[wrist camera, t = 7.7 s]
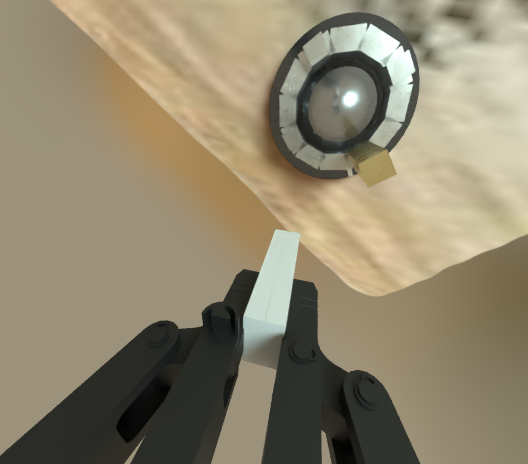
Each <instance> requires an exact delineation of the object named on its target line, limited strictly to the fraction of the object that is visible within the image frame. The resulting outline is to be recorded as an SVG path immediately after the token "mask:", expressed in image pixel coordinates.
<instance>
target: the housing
mask: <svg viewBox="0 0 528 464" xmlns="http://www.w3.org/2000/svg"><path fill="white" fill-rule="evenodd" d="M365 23H367V29H366V31H367V30H368V28H369V26H370V24H372V25H373V26H375V27H376V28H378V29H380V30H381V31H383V32H384V33H386V34H387V35H389V36H390V37H392V38H394V39H395V40H397V41H398V42H400V43H399V45H398V46H397V48H396V49H398V48H399V47H401V46H402V47H403V50H404V53H405V52H406V51H407V50H409V51H410V55H411V58H412V61H413V65H414V68H415V72H414V73H412V74H411V76H412V79H413V81H411V82H410V83H408V84H407V85H411V84H413V86H412V91H411V95H410V99H409V103H408V107H407V112H406V116H405V120H404V121H402V122H399V123H400V124H402V126H401V127H400V129H399V130H398V131H397V132H396V134H395V135H394V136H393V137H392V139H391V140H390V141H389V142H388V144H387V145H386V146H385V147H384V148H385V149H387V150H388V153H389V152H390V151H391V150H392V149H393V148H394V147H395V146H396V144H397V143H398V142H399V140H400V139H401V137H402V136H403V134H404V133H405V131H406V129H407V127H408V126H409V124H410V121H411V119H412V117H413V114H414V111H415V108H416V104H417V99H418V94H419V81H420V79H419V67H418V63H417V59H416V55H415V53H414V50H413V48H412V46H411V44H410V42H409V41H408V39H407V37H406V36H405V35H404V34H403V33H402V31H401V30H400V29H399V28H398V27H396V26H395V25H394V24H393V23H391V22H390V21H388V20H386V19H384V18H382V17H380V16H377V15H373V14H369V13H359V12H357V13H346V14H342V15H338V16H334V17H332V18H330V19H327V20H325V21H323V22H321V23H320V24H318V25H316V26H315V27H313V28H312V29H310V30H309V31H308V32H307V33H305V34H304V35H303V36H302V37H301V38H300V39H299V40H298V41H297V42H296V43H295V44H294V46H293V47H292V48H291V49H290V51H289V52H288V53H287V55H286V57H285V58H284V60H283V62H282V63H281V65H280V67H279V70H278V72H277V74H276V77H275V80H274V83H273V86H272V90H271V95H270V103H269V117H270V125H271V130H272V134H273V137H274V140H275V142H276V144H277V146H278V148H279V150H280V151H281V153H282V155H283V156H284V157H285V158H286V159H287V161H288V162H289V163H291V164H292V165H293V166H294V167H295V168H297V169H298V170H300V171H301V172H303V173H306V174H308V175H310V176H313V177H318V178H323V179H339V178H345V177H351V176H353V175H356V174H358V173H357V172H356V170H355V169H354V167H353V168H351V169H349V167H348V166H347V170H320V166H319V167H318V169H316V168H314V167H312V166H311V165H309V164H307V163H306V162H304V161H302V160H301V159H299V158H297V157H296V154H297V152H296V153H295V154H293V153H292V151H291V150H289V148H288V146H287V144H286V143H285V141H284V139H283V137H282V135H283V134H282V132H281V129H282V128H284V127H280V103H279V95H284V94H283V93H282V92H280V91H281V88H282V86H283V84H284V82H285V80H286V77H287V75H288V73H289V71H290V69H291V66H292V64H293V62H294V60H295V58H296V59H298V60H299V58H298V54H299V53H300V52H302V51H303V46H304V45H305V44H306V43H308V42H309V41H310V40H311V39H312V38H313V37H315V36H316V35H317V34H318V33H319V32H322V34H323V33H324V32H326V31H327V30H328V33H329V35H330V31H331V28H336V27H343V26H350V25H357V24H365ZM382 97H383V91H382V88H381V86H380V83H379V80H378V77H377V75H376V72H375V70H374V69H372V68H371V67H369V66H368V65H366V64H365V63H363V62H361V61H360V60H358V59H357V58H347V59H338V60H331V61H329V62H328V63H327V64H325V65H324V66H323V67H322V68H320V69H319V70H318V71H316V72H315V73H314V74H312V75H311V76H310V77H309V79H308V81H307V83H306V85H305V87H304V89H303V91H302V93H301V95H300V97H299V99H298V124H299V126H300V128H301V130H302V132H303V134H304V136H305V138H306V140H307V141H308V142H309V143H311V144H313V145H314V146H316V147H318V148H319V149H321V150H323V151H344V150H346V149H347V148H349V147H351V146H353V145H354V144H356V143H358V142H360V141H362V140H363V139H364V138H365V137H366V135H367V134H368V133H369V131H370V130H371V128H372V127H373V126H374V124H375V123H376V122H377V120H378V119H379V113H380V108H381V103H382Z"/></svg>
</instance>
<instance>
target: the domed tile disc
mask: <svg viewBox="0 0 528 464" xmlns="http://www.w3.org/2000/svg"><path fill="white" fill-rule="evenodd" d="M366 29H367V23H365V24H357V25H350V26H343V27H336V28H331V31H330V35H329V33H328V30H327V31H326V32H324V33H323V34H322V32H319V33H318V34H317V35H316V36H315V37H313V38H312V39H311V40H310V41H309V42H308V43H306V44H305V45H304V46H303V51H302V52H300V53H299V54H298V58H299V60H298V59H296V58H295V60H294V62H293V64H292V66H291V69H290V71H289V73H288V75H287V77H286V80H285V82H284V84H283V86H282V88H281V91H280V92H282V93H283V94H284V95H279V103H280V127H284V128H282V129H281V132H282V134H283V135H282V137H283V139H284V141H285V143H286V144H287V146H288V148H289V150H291V151H292V153H293V154H295V153H296V152H297V154H296V157H297V158H299V159H301V160H302V161H304V162H306V163H307V164H309V165H311V166H312V167H314V168H316V169H318V167H319V166H320V170H347V166H348V167H349V169H351V168H353V167H354V169H355V170H356V172H357V173H358V174H359V176H360V177H361V178H362V180H363V181H364V182H365V184H366V185H367V186H368V187H370V186H373V185H375V184H377V183H379V182H381V181H384V180H386V179H388V178H390V177H392V176H394V175H397V174H396V171H395V169H394V166H393V163H392V161H391V158H390V156H389V153H388V150H387V149H385V148H384V147H385V146H386V145H387V144H388V142H389V141H390V140H391V139H392V137H393V136H394V135H395V134H396V132H397V131H398V130H399V129H400V127H401V126H402V124H400V123H399V122H402V121H404V120H405V116H406V112H407V107H408V103H409V99H410V95H411V91H412V86H413V84H411V85H407V84H408V83H410V82H411V81H413V79H412V76H411V74H412V73H414V72H415V68H414V65H413V61H412V58H411V55H410V51H409V50H407V51H406V52H405V53H404V50H403V47H402V46H401V47H399V48H398V49H396V48H397V46H398V45H399V43H400V42H398V41H397V40H395V39H394V38H392V37H390V36H389V35H387V34H386V33H384V32H383V31H381V30H380V29H378V28H376V27H375V26H373V25H372V24H370V26H369V28H368V30H367V31H366ZM347 58H357V59H358V60H360V61H361V62H363V63H365V64H366V65H368V66H369V67H371V68H372V69H374V70H375V72H376V75H377V77H378V80H379V83H380V86H381V88H382V91H383V97H382V103H381V108H380V113H379V119H378V120H377V122H376V123H375V124H374V126H373V127H372V128H371V130H370V131H369V133H368V134H367V135H366V137H365V138H364V139H363V140H362V141H360V142H358V143H356V144H354V145H353V146H351V147H349V148H347V149H346V150H344V151H323V150H321V149H319V148H318V147H316V146H314V145H313V144H311V143H309V142H308V141H307V140H306V138H305V136H304V134H303V132H302V130H301V128H300V126H299V124H298V99H299V97H300V95H301V93H302V91H303V89H304V87H305V85H306V83H307V81H308V79H309V77H310V76H311V75H312V74H314V73H315V72H316V71H318V70H319V69H320V68H322V67H323V66H324V65H325V64H327V63H328V62H329V61H331V60H338V59H347Z"/></svg>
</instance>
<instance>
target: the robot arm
mask: <svg viewBox="0 0 528 464" xmlns="http://www.w3.org/2000/svg"><path fill="white" fill-rule="evenodd" d="M299 238H300V233H295V232H289V231H283V230H277V229H276V230H275V233H274V236H273V238H272V241H271V244H270V246H269V249H268V252H267V255H266V257H265V260H264V263H263V265H262V268H261V271H260V272H255V271H250V270H246V269H244V270H242V271H241V272H240V273H238V274H237V275H236V277H235V279H234V281H233V284H232V285H231V287H230V290H229V291H228V293H227V295H226V297H225V299H224V301H223V302H217V303H213V304H211V305H209V306H208V307H206V308H205V309H204V311H203V312H202V320H203V326H201V327H196V328H186V329H178V326H177V325H176V324H175V323H174V322H171V321H167V320H166V321H158V322H156V323H153V324H152V325H150V326H148V327H147V328H145V329H144V330H143V331H142V332H141V333H139V334H138V335H137V336H136V337H135V338H134V339H133V340H131V341H130V342H129V343H128V344H127V345H126V346H125V347H124V348H122V349H121V350H120V351H119V352H118V353H117V354H116V355H115V356H113V357H112V358H111V359H110V360H109V361H108V362H107V363H105V364H104V365H103V366H102V367H101V368H100V369H98V371H96V372H95V373H94V374H93V375H92V376H91V377H90V378H88V379H87V380H86V381H85V382H84V383H83V384H81V386H79V387H78V388H77V389H76V390H75V391H73V392H72V393H71V394H70V395H69V396H68V397H67V398H65V399H64V400H63V401H62V402H61V403H60V404H59V405H57V406H56V407H55V408H54V409H53V410H52V411H51V412H49V413H48V414H47V415H46V416H45V417H44V418H43V419H42V420H40V421H39V422H38V423H37V424H36V425H35V426H34V427H32V428H31V429H30V430H29V431H28V432H27V433H26V434H24V435H23V436H22V437H21V438H20V439H19V440H18V441H16V442H15V443H14V444H13V445H12V446H11V447H10V448H8V449H7V450H6V451H5V452H4V453H3V454H2V455H1V456H0V464H124V463H125V462H126V460H127V459H128V458H129V456H130V455H131V454H132V452H133V451H134V450H135V448H136V447H137V446H138V444H139V443H140V442H141V440H142V439H143V438H144V439H143V441H142V443H141V445H140V447H139V449H138V451H137V452H136V454H135V456H134V458H133V460H132V462H131V463H130V464H211V461H212V458H213V455H214V452H215V448H216V445H217V441H218V438H219V435H220V432H221V429H222V425H223V422H224V419H225V416H226V412H227V409H228V406H229V403H230V399H231V396H232V393H233V389H234V386H235V383H236V380H237V377H238V369H239V364H240V360H241V357H242V360H244V361H248V362H251V363H255V364H258V365H262V366H266V367H269V368H273V369H276V370H277V372H276V379H275V384H274V390H273V394H272V402H271V408H270V414H269V420H268V426H267V432H266V438H265V444H264V450H263V456H262V462H261V464H322V462H321V461H322V455H321V454H322V452H321V430H322V431H324V432H325V433H326V437H327V442H328V447H329V452H330V457H331V462H332V464H420V462H419V460H418V458H417V456H416V453H415V451H414V449H413V447H412V445H411V442H410V440H409V438H408V436H407V434H406V431H405V429H404V427H403V425H402V423H401V420H400V418H399V416H398V414H397V411H396V409H395V407H394V405H393V403H392V400H391V398H390V396H389V394H388V392H387V391H386V389H385V388H384V386H383V385H382V384H381V383H380V382H379V381H378V380H377V379H376V378H375V377H374V376H372V375H371V374H369V373H367V372H364V371H360V370H355V371H351V372H349V373H348V372H346V371H345V370H343V369H341V368H340V367H338V366H336V365H335V364H333V363H332V362H331V361H329V360H328V359H327V358H326V357H325V356H324V354H323V353H322V351H321V350H320V347H319V345H318V338H317V329H318V327H317V326H318V320H317V317H318V314H317V312H318V311H317V307H318V306H317V305H318V304H317V303H318V302H317V298H318V291H317V289H316V287H315V285H314V283H312V282H307V281H302V280H297V279H293V276H294V270H295V264H296V257H297V251H298V244H299ZM144 436H145V437H144Z"/></svg>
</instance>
